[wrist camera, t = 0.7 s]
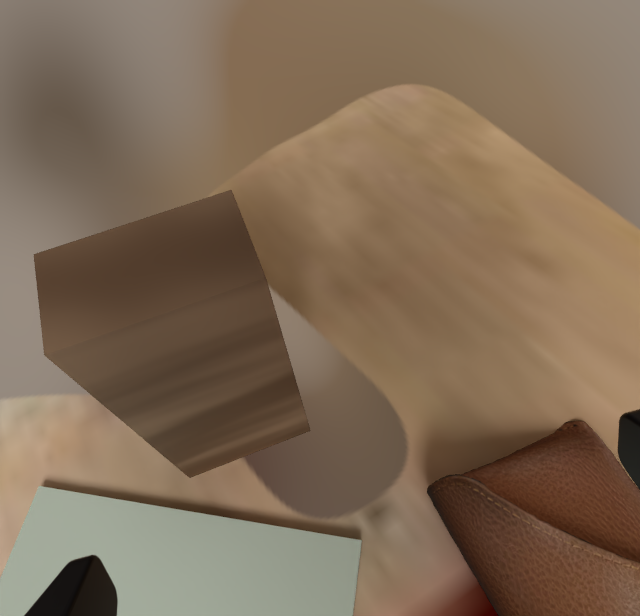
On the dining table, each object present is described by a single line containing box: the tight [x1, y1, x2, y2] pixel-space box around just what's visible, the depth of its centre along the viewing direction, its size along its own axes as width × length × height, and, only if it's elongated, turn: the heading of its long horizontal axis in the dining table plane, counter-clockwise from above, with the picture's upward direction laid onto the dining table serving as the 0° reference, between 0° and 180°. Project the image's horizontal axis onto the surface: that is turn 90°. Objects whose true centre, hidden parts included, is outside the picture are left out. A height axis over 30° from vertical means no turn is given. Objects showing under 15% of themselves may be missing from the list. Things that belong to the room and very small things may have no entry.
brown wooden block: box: [34, 190, 310, 478], centre depth 20 cm, size 4×6×13 cm, turn 111°
